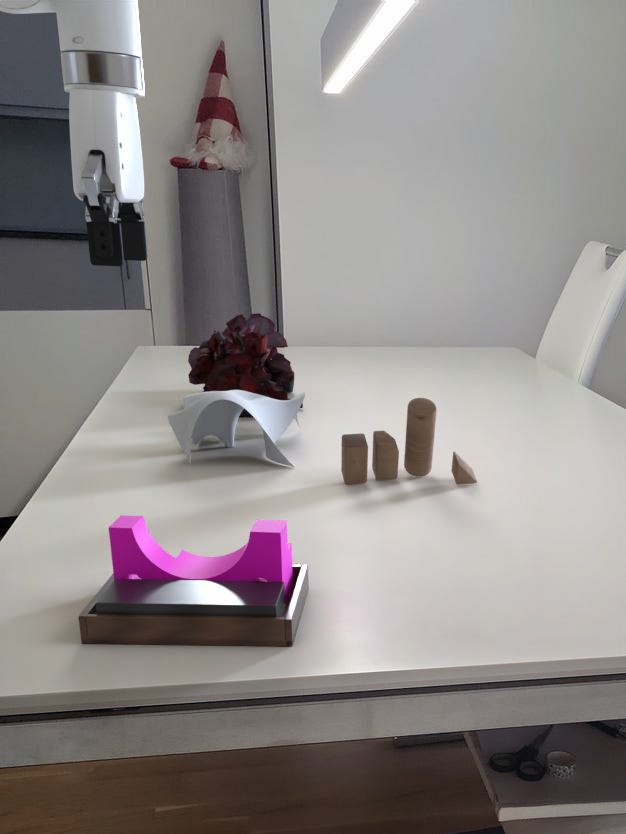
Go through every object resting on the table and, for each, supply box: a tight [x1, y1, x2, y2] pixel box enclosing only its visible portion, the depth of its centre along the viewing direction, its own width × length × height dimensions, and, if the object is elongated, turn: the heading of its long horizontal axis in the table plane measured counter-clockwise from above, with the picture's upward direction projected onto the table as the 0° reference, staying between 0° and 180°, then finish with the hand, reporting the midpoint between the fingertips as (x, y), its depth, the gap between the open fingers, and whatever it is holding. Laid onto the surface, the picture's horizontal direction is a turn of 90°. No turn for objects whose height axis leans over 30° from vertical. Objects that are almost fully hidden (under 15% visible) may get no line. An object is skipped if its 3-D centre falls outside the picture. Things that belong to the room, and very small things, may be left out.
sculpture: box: [167, 390, 306, 468], centre depth 154 cm, size 25×19×10 cm
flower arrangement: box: [187, 312, 304, 418], centre depth 187 cm, size 31×20×15 cm, turn 13°
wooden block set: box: [340, 397, 478, 485], centre depth 140 cm, size 18×9×10 cm, turn 105°
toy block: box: [108, 515, 293, 607], centre depth 95 cm, size 15×6×8 cm, turn 92°
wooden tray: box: [77, 564, 310, 647], centre depth 94 cm, size 18×14×4 cm
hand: (120, 262), depth 108 cm, fingers open, 9 cm apart
